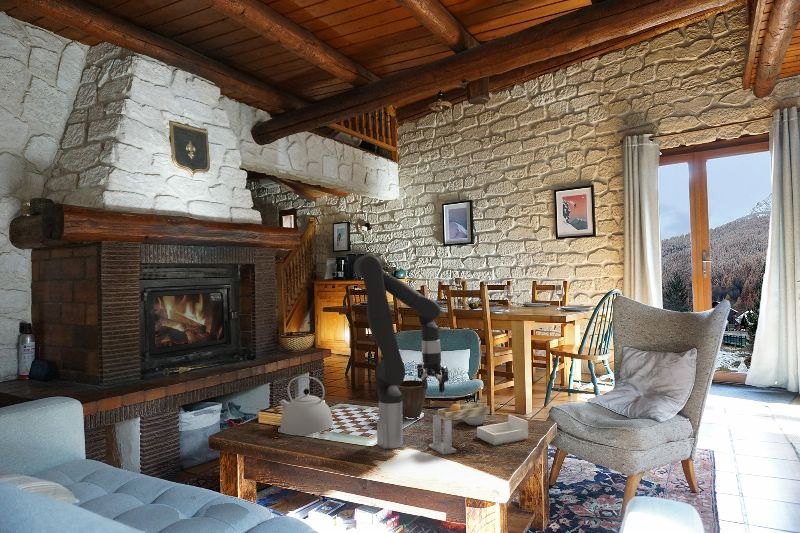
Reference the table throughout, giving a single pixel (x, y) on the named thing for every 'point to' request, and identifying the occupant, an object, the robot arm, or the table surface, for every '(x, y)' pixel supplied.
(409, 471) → the table surface
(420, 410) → the plant pot
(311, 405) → the kettle
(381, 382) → the robot arm
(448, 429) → the pivot stand
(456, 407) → the ball
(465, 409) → the chute lever
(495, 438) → the bin
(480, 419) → the teacup
